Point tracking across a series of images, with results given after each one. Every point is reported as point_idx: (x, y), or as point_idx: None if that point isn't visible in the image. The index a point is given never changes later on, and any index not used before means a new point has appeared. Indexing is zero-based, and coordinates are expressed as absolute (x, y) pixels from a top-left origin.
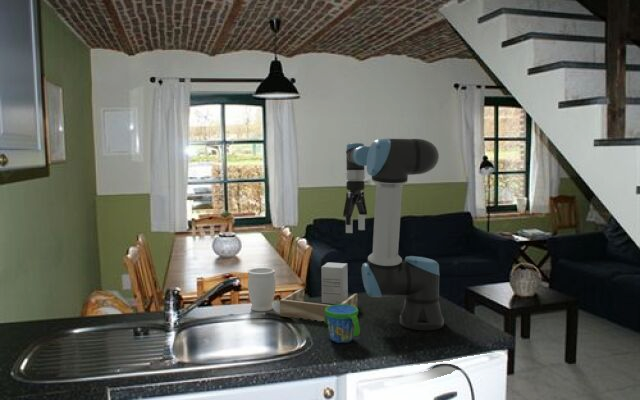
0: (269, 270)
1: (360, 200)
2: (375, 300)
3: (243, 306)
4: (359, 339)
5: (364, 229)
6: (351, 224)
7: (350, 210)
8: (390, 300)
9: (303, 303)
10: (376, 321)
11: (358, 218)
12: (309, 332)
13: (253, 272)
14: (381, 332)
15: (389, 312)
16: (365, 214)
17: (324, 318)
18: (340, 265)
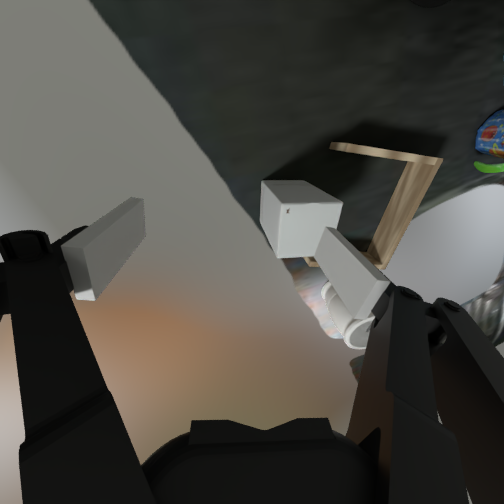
0: (348, 328)
1: (141, 478)
2: (259, 109)
3: (326, 310)
4: (500, 98)
5: (134, 198)
6: (356, 253)
7: (458, 329)
8: (250, 61)
9: (404, 231)
10: (412, 78)
11: (111, 276)
12: (445, 192)
13: (350, 342)
14: (479, 53)
15: (353, 50)
16: (47, 241)
17: (485, 172)
18: (314, 215)
